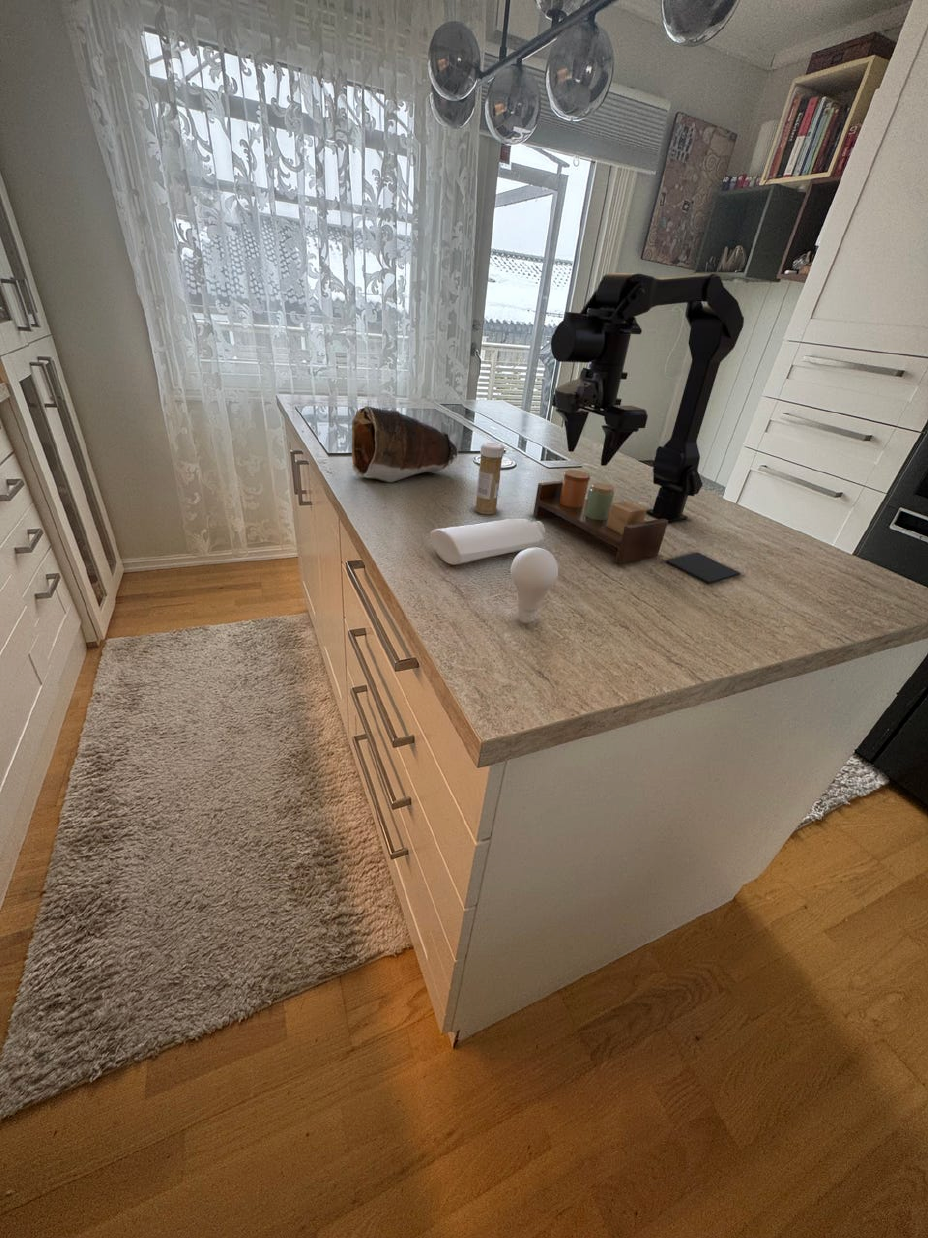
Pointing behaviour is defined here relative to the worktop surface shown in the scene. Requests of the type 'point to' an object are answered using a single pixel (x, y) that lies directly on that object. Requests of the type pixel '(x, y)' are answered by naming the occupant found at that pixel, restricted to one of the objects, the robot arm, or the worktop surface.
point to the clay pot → (397, 445)
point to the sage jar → (599, 501)
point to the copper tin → (574, 488)
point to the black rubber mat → (703, 568)
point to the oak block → (625, 515)
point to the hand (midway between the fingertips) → (586, 458)
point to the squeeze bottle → (486, 539)
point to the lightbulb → (532, 580)
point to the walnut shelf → (603, 526)
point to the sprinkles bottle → (489, 477)
